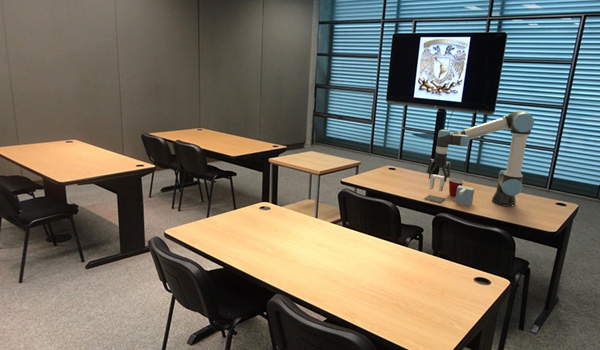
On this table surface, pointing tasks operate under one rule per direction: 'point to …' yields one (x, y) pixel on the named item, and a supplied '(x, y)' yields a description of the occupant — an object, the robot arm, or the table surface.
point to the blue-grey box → (464, 195)
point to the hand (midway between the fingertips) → (436, 184)
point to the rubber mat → (435, 198)
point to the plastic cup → (454, 186)
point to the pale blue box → (433, 181)
